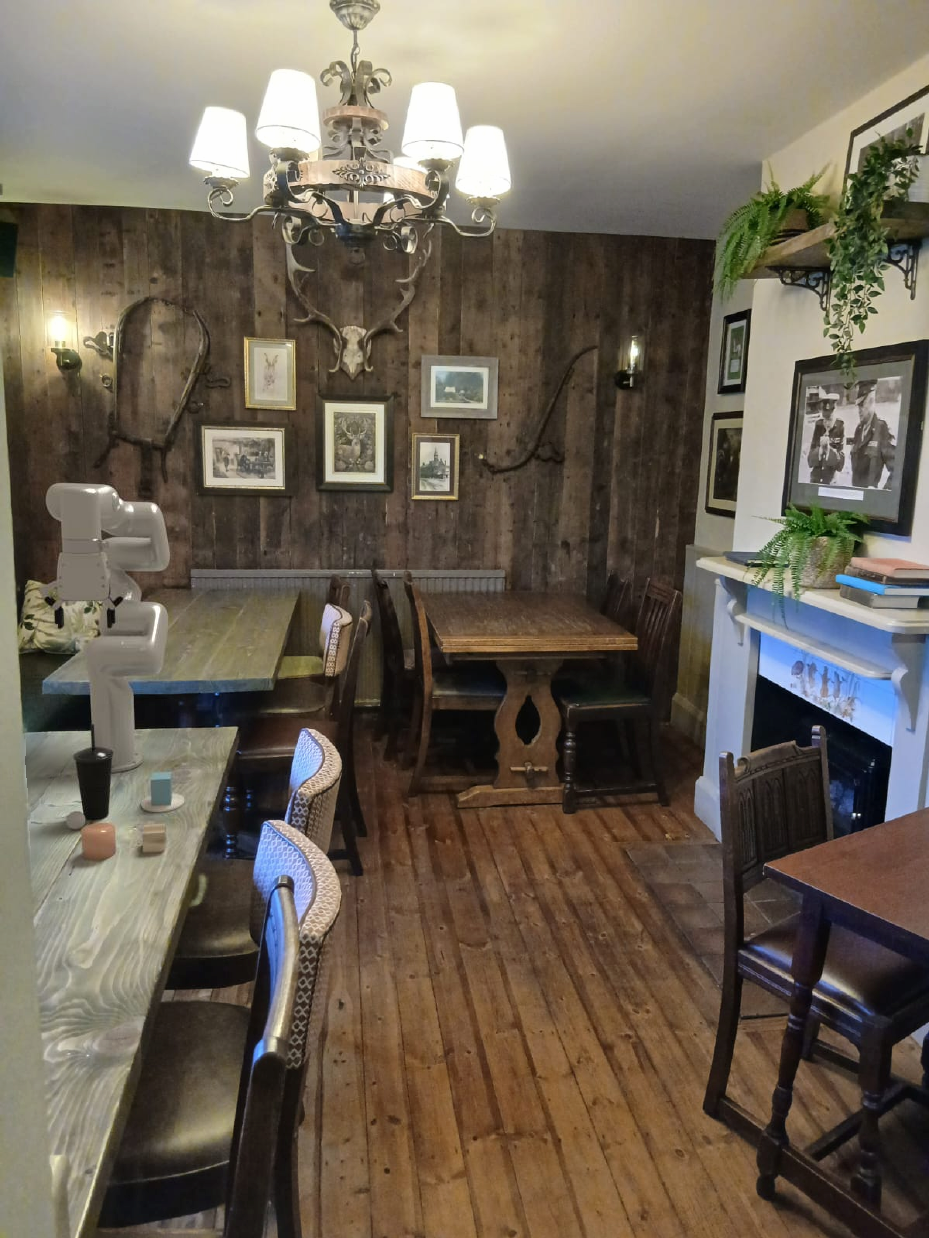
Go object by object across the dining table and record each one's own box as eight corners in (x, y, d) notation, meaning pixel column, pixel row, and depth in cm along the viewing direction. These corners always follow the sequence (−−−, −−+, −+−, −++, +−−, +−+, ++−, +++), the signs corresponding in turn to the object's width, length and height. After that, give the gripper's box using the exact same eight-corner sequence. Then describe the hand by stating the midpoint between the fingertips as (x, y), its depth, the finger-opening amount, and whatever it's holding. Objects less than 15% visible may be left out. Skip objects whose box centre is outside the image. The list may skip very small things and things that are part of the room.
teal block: (153, 798, 192) (152, 772, 191) (172, 797, 193) (171, 771, 192) (151, 806, 189) (150, 779, 187) (170, 804, 190) (170, 778, 188)
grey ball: (68, 825, 179) (67, 808, 179) (87, 824, 180) (86, 807, 179) (64, 832, 176) (64, 816, 175) (84, 831, 177) (83, 814, 176)
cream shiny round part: (143, 796, 195) (143, 794, 195) (185, 794, 197) (185, 791, 197) (139, 813, 186) (138, 810, 186) (183, 810, 188) (183, 808, 188)
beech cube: (144, 843, 173) (144, 824, 172) (166, 842, 174) (165, 823, 173) (143, 852, 169) (142, 833, 168) (164, 851, 170) (164, 832, 169)
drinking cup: (101, 825, 180) (97, 732, 176) (68, 820, 181) (63, 728, 177) (123, 810, 187) (119, 720, 183) (91, 806, 189) (87, 717, 185)
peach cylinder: (84, 847, 170) (83, 823, 169) (117, 845, 172) (116, 821, 171) (79, 862, 165) (78, 837, 164) (114, 859, 166) (113, 835, 165)
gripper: (128, 545, 188) (131, 623, 192) (40, 544, 184) (44, 624, 187) (124, 549, 181) (127, 630, 184) (32, 548, 177) (37, 631, 180)
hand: (85, 627), depth 186 cm, fingers open, 9 cm apart
